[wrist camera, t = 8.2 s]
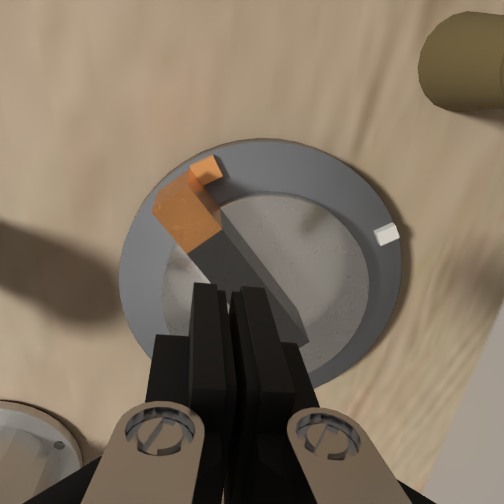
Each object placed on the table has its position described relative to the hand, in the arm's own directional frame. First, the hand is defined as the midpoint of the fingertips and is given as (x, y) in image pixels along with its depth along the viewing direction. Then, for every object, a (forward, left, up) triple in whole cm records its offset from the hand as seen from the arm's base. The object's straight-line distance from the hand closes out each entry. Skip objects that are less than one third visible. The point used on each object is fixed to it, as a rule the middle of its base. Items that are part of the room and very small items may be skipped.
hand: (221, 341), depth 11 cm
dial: (-1, -8, -20) cm, 22 cm away
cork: (+18, -1, -23) cm, 29 cm away
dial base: (0, -9, -22) cm, 24 cm away
